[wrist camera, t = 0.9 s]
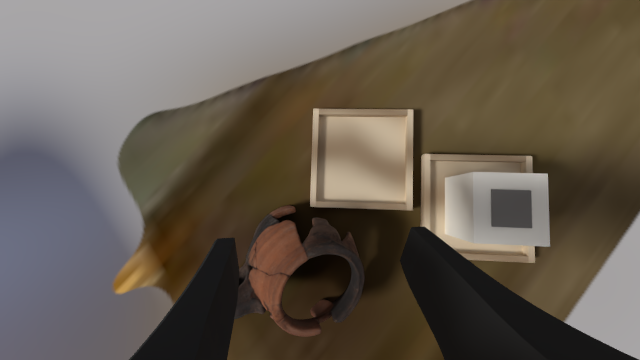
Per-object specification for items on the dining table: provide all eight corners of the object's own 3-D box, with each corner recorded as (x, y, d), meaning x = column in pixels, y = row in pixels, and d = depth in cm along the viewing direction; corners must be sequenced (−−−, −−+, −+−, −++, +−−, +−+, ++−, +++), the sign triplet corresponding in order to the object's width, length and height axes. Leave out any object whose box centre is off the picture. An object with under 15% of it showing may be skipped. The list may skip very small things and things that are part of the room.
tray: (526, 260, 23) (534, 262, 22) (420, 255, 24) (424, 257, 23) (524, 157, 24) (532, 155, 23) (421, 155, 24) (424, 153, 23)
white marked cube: (504, 236, 23) (551, 246, 18) (444, 234, 23) (474, 243, 18) (503, 177, 23) (549, 171, 18) (444, 176, 24) (473, 169, 19)
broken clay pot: (311, 181, 25) (352, 208, 18) (344, 255, 29) (389, 304, 21) (190, 245, 23) (178, 309, 15) (242, 319, 26) (253, 401, 18)
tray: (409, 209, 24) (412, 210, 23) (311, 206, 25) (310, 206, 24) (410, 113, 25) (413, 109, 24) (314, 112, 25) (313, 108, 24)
